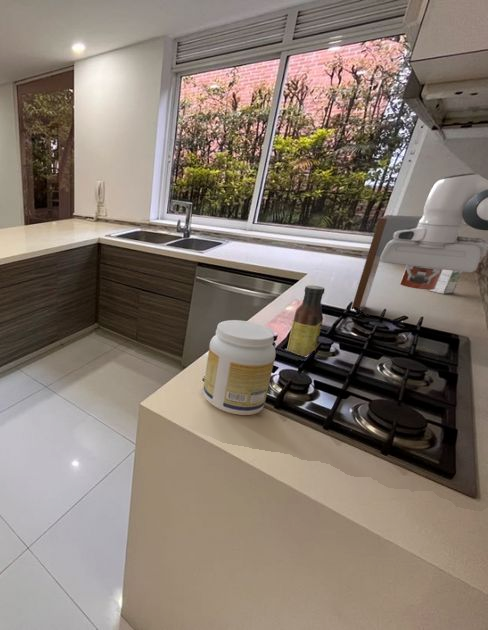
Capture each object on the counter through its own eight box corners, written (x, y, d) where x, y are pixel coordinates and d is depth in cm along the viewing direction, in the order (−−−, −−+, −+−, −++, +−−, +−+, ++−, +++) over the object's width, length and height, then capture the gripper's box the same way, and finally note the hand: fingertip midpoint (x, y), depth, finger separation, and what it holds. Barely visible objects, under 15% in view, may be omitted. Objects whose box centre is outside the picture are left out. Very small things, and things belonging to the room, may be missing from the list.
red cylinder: (435, 286, 112) (443, 266, 109) (431, 299, 99) (441, 277, 96) (401, 281, 118) (408, 262, 115) (393, 293, 104) (401, 272, 102)
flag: (420, 317, 119) (459, 217, 108) (416, 330, 108) (459, 221, 96) (358, 305, 132) (386, 215, 120) (348, 317, 120) (378, 218, 108)
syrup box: (437, 289, 151) (449, 257, 145) (453, 293, 145) (467, 260, 140) (427, 290, 149) (439, 258, 144) (443, 294, 144) (457, 260, 139)
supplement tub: (274, 403, 72) (292, 331, 66) (244, 425, 66) (261, 347, 60) (221, 379, 82) (233, 314, 76) (190, 396, 75) (200, 326, 69)
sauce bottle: (317, 364, 88) (337, 291, 81) (291, 362, 89) (309, 290, 82) (305, 353, 94) (323, 284, 87) (281, 351, 95) (297, 283, 88)
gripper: (490, 237, 92) (469, 286, 97) (390, 230, 106) (376, 273, 111) (492, 240, 88) (469, 290, 93) (387, 232, 102) (372, 277, 107)
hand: (417, 281), depth 102 cm, fingers closed on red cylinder
